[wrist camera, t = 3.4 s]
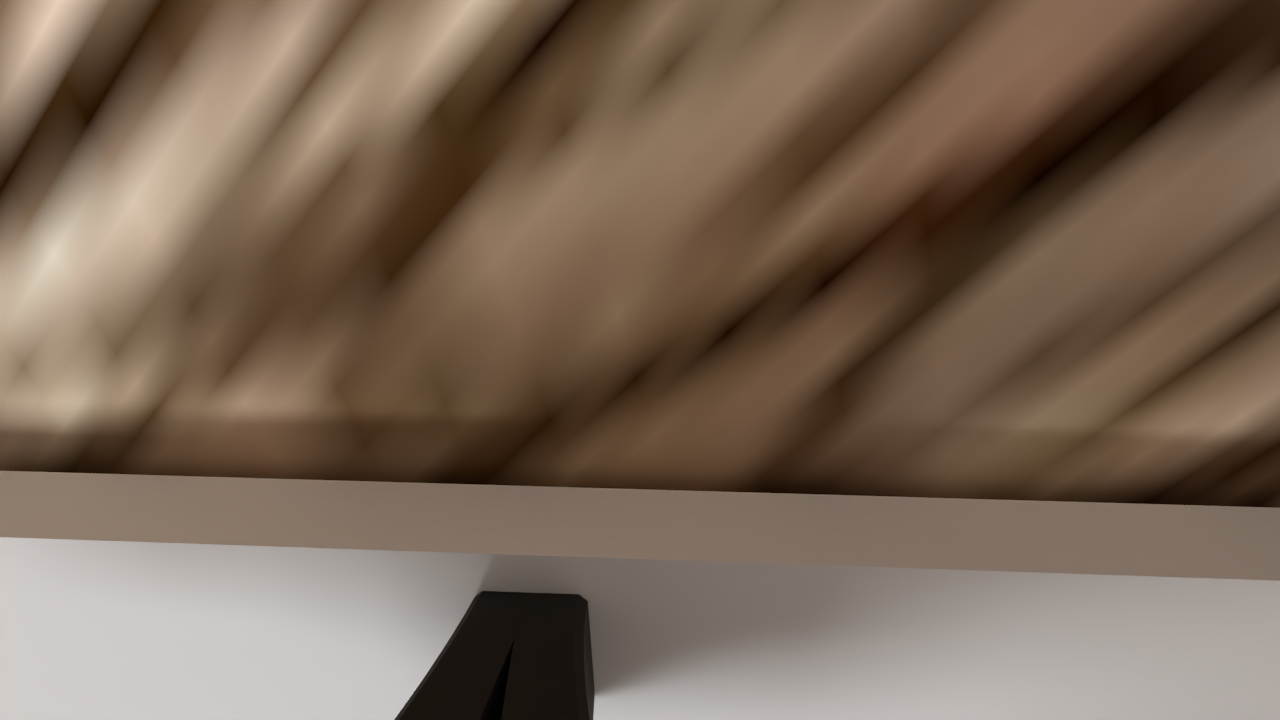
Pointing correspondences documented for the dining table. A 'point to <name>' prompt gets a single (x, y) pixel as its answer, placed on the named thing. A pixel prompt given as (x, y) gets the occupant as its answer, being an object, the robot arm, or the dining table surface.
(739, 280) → the dining table surface
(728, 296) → the dining table surface
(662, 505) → the grey plank
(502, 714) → the robot arm
